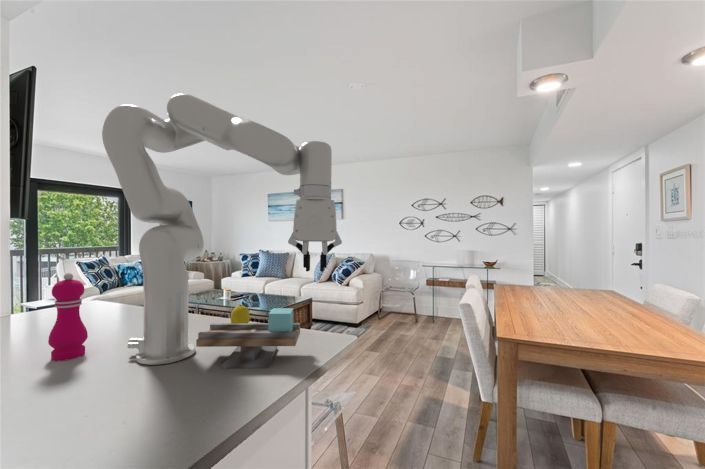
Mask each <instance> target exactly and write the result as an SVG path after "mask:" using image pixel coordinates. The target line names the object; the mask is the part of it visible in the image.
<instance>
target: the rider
mask: <svg viewBox="0 0 705 469" xmlns="http://www.w3.org/2000/svg"><path fill="white" fill-rule="evenodd" d="M268 323H269V325H268V332H292V330H293V323H294V308H293V307H291V308H289V307H288V308H287V307H285V308H284V307H282V308H279V307H276V308H275V307H274V308H272V309H271V310H270V311H269V312H268Z"/></svg>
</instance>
